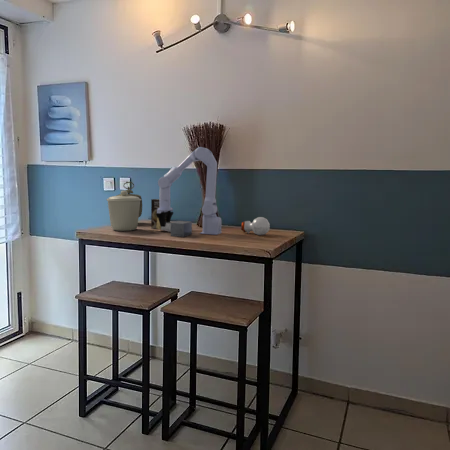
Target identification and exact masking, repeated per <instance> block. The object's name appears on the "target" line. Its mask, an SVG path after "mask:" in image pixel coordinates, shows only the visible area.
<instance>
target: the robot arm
mask: <svg viewBox="0 0 450 450" xmlns="http://www.w3.org/2000/svg"><path fill="white" fill-rule="evenodd" d="M199 161H201V162H202V163H203V164H204V165H205V166H206V181H205V184H206V185H205V197H204V200H203V205H202V207H201V213H202V214H203V215H202V231H201V232H199V234H201V235H216V236H217V235H220V234H222V233H223V232H222V217H220V216H217V214H216V213H217V212H218V206H217V199H216V192H217V191H216V189H217V188H216V187H217V175H218V174H217V173H218V162H217V160H216V158H215V155H213V152H212V151H211V150H210V149H209V148H206V147H203V146H198V147H196V149H194V150H193V151H192V152H190V154H188V155H187V157H186V158H185V159H183V161H182V162H181V163H180V164H179V165H178V166H173V167H171V168H169V169H170V170H169V171H168V172H166V173H165V174H163V176H161V177H159V179H158V180H157V185H158V187H159V193H158V195H159V208H157V213H156V215H157V217H158V219H159V222H160V226H161V227H165V220H166V221H168V222H171V220H172V216H173V215H174V212H173V207H171V202H170V200H171V187H172V186H173V183H175V182H176V181H177V180H178V179H180V177H181V176H182V173H183V172H184V170H186V169H187V168H188V167H189V166H190V165H192V163H193V162H199ZM166 218H167V219H166Z"/></svg>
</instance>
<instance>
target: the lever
mask: <svg viewBox="0 0 450 450" xmlns="http://www.w3.org/2000/svg"><path fill="white" fill-rule="evenodd" d="M166 219H167V218H166ZM171 223H173V221H172V222H171V221H170V222H168V221H166V220H165V227H161V226H160V222H159V219H158V217H157V225H156V228H155V230H161V231H166V232H169V233H171Z"/></svg>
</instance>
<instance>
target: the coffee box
mask: <svg viewBox="0 0 450 450" xmlns="http://www.w3.org/2000/svg"><path fill="white" fill-rule="evenodd" d="M150 200H151V202H150V203H151V205H150V207H151V211H150V214H151V215H150V216H151V217H150V218H151V219H150V229H156V225H157V215H156V213H157V208H159V199H158V198H151V199H150ZM171 202H172V201H171V199H170V203H171Z"/></svg>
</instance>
